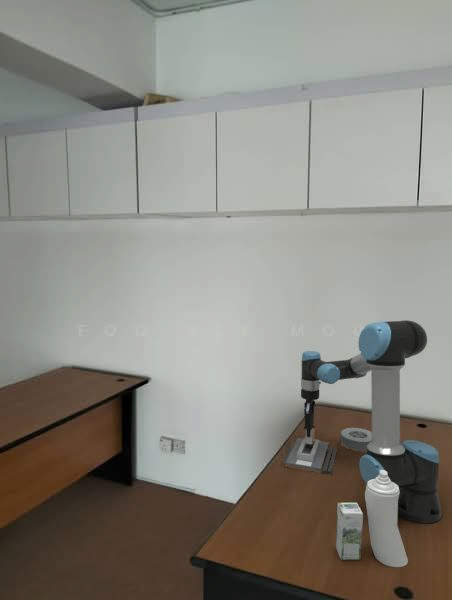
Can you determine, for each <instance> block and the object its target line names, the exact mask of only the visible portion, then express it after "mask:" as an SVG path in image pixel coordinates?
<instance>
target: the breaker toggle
mask: <svg viewBox="0 0 452 600" xmlns="http://www.w3.org/2000/svg"><path fill="white" fill-rule="evenodd" d="M314 439H315V428H313V435H312V444H307V447H306V448H309V449H312V448H313V446H314Z"/></svg>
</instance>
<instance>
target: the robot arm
mask: <svg viewBox="0 0 452 600" xmlns="http://www.w3.org/2000/svg"><path fill="white" fill-rule="evenodd" d="M357 343H358V345H357V346H358V351H359V352H360V353H359V354H357V355H355V356H352V357H350V358H348V359H343V360H333V361H332V360H331V361H324V360H322V357H321V353H320V352H318V351H315V350H306V351H303V352H302V354H301V355H302V356H301V361H300V362H301V377H300V378H301V379H300V388H301V389H300V397H301V399H302V400H305V402H304V403H303V404H304V410H303V411H304V412H303V413H304V427H303V429H304V430H305V433H304V434H305V437H304V438H305V443H306V444H312V435H313V429H315V426H316V425H314V424H315V421H314V419H315V409H316V407H315V405H316V400H318V399H320V385H321V384H322V383H324V384H328V385H332V384H333V385H334V384H335V383H337V382H338V381H341V380H349V379H359V378H364V377H366V375H367V373H369V372H371V432H372V441H371V442H370V443H369V444H368V445H367V452H366V454H363V456H361V458H360V459H359V464H358V465H359V467H358V468H359V471H360V474H361V478H362V479H363V481H364V482H365V484H366V485H367V483H368V481H369V480H372V479H376V477H377V476H378V475H379V471H380V470H385V471H386V472H387V473H388V477H389V479H390V480H391V482H393V483H395V484H396V485H397V486H398V487H399V491H400V493H399V498H398V515H399V516H400V517H402V518H404V519H405V520H408V521H410V522H414V523H419V524H434V523H437V522H438V521H440V520H441V518H442V510H443V509H442V507H441V502H440V499H439V495H438V484H439V483H438V481H439V469H440V467H439V466H440V454H439V451H438V450H437V449H436V448H435V447H434V446H433V445H430V444H428V443H425V442H422V441H418V440H415V439H414V440H412V439H404V440H403V441H402V442H401V417H400V416H401V389H400V388H401V380H400V379H401V375H400V373H401V372H400V370H401V369H402V368H404V366H405V365H406V359H409V358H411V357H413V356H416V355H419V354H421V353H422V352H423V351H424V350H425V348H426V347H427V344H428V336H427V333H426V330H425V329H424V328H423V326H422V325H421V324H419V323H418V322H415V321H413V320H395V321H394V320H393V321H391V320H390V321H376V322H371V323H369V324H367V325H365V326H364V328H363V329H362V330H361V331H360V333H359V337H358V342H357Z"/></svg>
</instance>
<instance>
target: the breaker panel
mask: <svg viewBox="0 0 452 600" xmlns="http://www.w3.org/2000/svg"><path fill="white" fill-rule="evenodd" d="M328 445H329V446H330V442H329V441H321V440H320V439H316V438H314V446H313V448H312V449H309V448H306V447H307V444H306V443H305V437H303V438H300V437H297V438H296V440H295V444H294V446H291V445H290V446H289V447H288V451H287V453H286V454H285V456H284V458H283V460H282V462H281V465H282V464H283V465H285V464H286V465H290V466H296V467H300V468H305V469H310V470H315V471H320V472H321V473H323V472H324V473H327V475H328V474H331V473H332V474H333V470H334V466H335V462H336V458H335V456H336V457H337V454H336V452H337V453H338V448H333V447H329V448H328ZM327 449H328V451H327ZM332 451H333V452H332ZM326 452H327V454H326ZM331 454H332V456H331ZM325 456H326V458H325ZM330 458H331V460H330ZM324 459H325V461H324ZM334 461H335V462H334ZM329 462H330V463H329ZM323 463H324V464H323ZM333 465H334V466H333ZM322 466H323V468H322ZM328 466H329V467H328ZM321 469H322V471H321ZM327 469H328V471H327ZM332 469H333V470H332ZM332 474H331V475H332Z"/></svg>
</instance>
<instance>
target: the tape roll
mask: <svg viewBox="0 0 452 600" xmlns="http://www.w3.org/2000/svg"><path fill="white" fill-rule="evenodd" d="M340 440H341V442H342V443H343V444H344V445H345V446H346V447H348V448H351V449H354V450H358V451H367V445H368V444H369V443H370V442H371V441H372V430H371V431H370V430H367V429H365V428H360V427H347V428H344V429H342V430H341V431H340Z"/></svg>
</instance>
